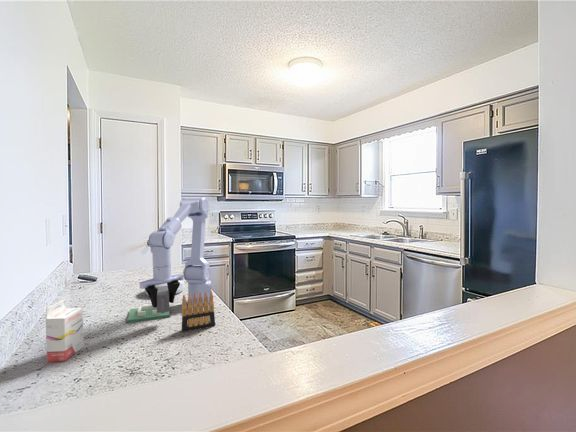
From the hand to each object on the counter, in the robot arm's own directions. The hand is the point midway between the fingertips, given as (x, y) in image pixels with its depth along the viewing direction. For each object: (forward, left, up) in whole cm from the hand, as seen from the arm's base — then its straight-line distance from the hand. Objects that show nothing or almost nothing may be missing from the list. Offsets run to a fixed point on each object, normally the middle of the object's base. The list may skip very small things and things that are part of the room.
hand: (163, 304), depth 105 cm
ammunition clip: (-11, +8, -7) cm, 15 cm away
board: (+5, -12, -7) cm, 15 cm away
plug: (0, 0, -2) cm, 2 cm away
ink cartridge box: (+25, +12, -7) cm, 29 cm away
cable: (0, -41, -7) cm, 42 cm away
